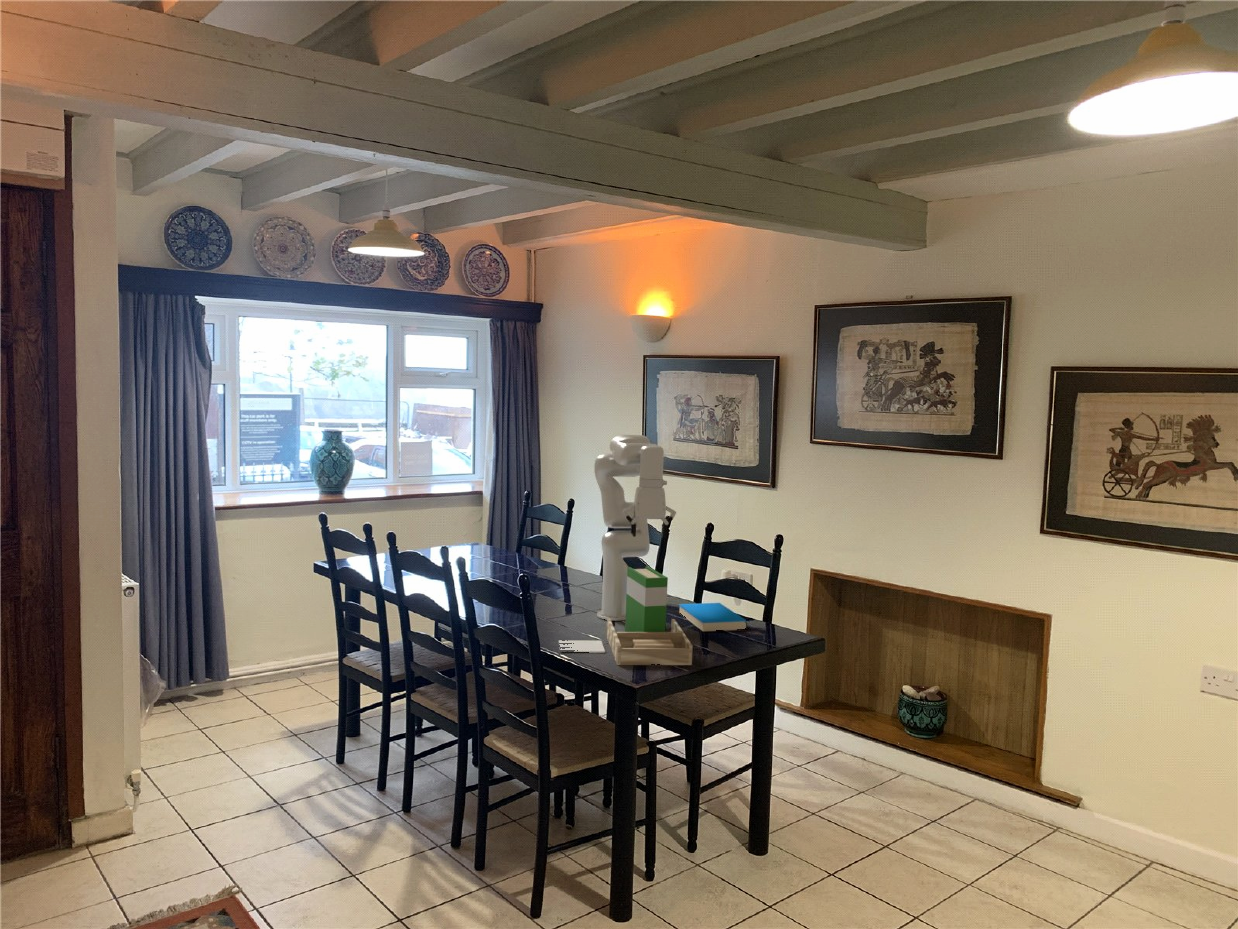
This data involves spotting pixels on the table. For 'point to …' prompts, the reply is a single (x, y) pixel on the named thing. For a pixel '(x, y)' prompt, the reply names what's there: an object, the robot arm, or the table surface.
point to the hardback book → (645, 600)
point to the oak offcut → (652, 644)
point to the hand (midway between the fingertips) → (648, 536)
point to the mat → (583, 646)
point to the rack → (648, 656)
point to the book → (712, 616)
